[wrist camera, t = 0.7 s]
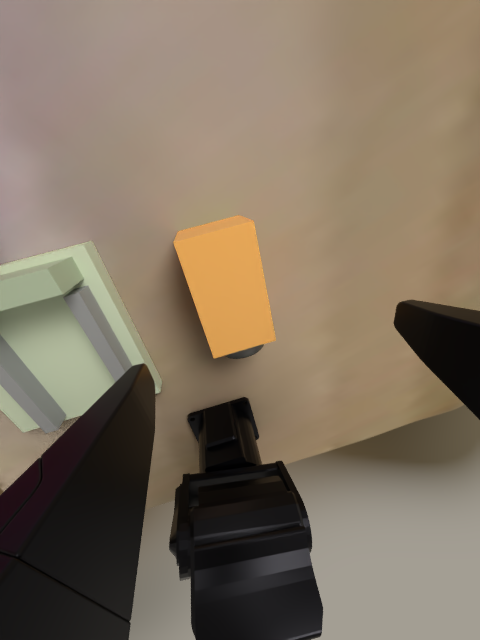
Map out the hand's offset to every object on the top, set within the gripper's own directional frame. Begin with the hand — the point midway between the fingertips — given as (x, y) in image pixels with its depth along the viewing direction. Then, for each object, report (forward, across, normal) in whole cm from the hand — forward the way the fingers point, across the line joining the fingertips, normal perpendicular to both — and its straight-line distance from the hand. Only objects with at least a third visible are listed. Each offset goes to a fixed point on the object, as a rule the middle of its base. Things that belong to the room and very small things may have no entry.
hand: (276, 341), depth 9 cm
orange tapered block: (+12, +1, +2) cm, 12 cm away
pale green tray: (+12, +15, +4) cm, 19 cm away
